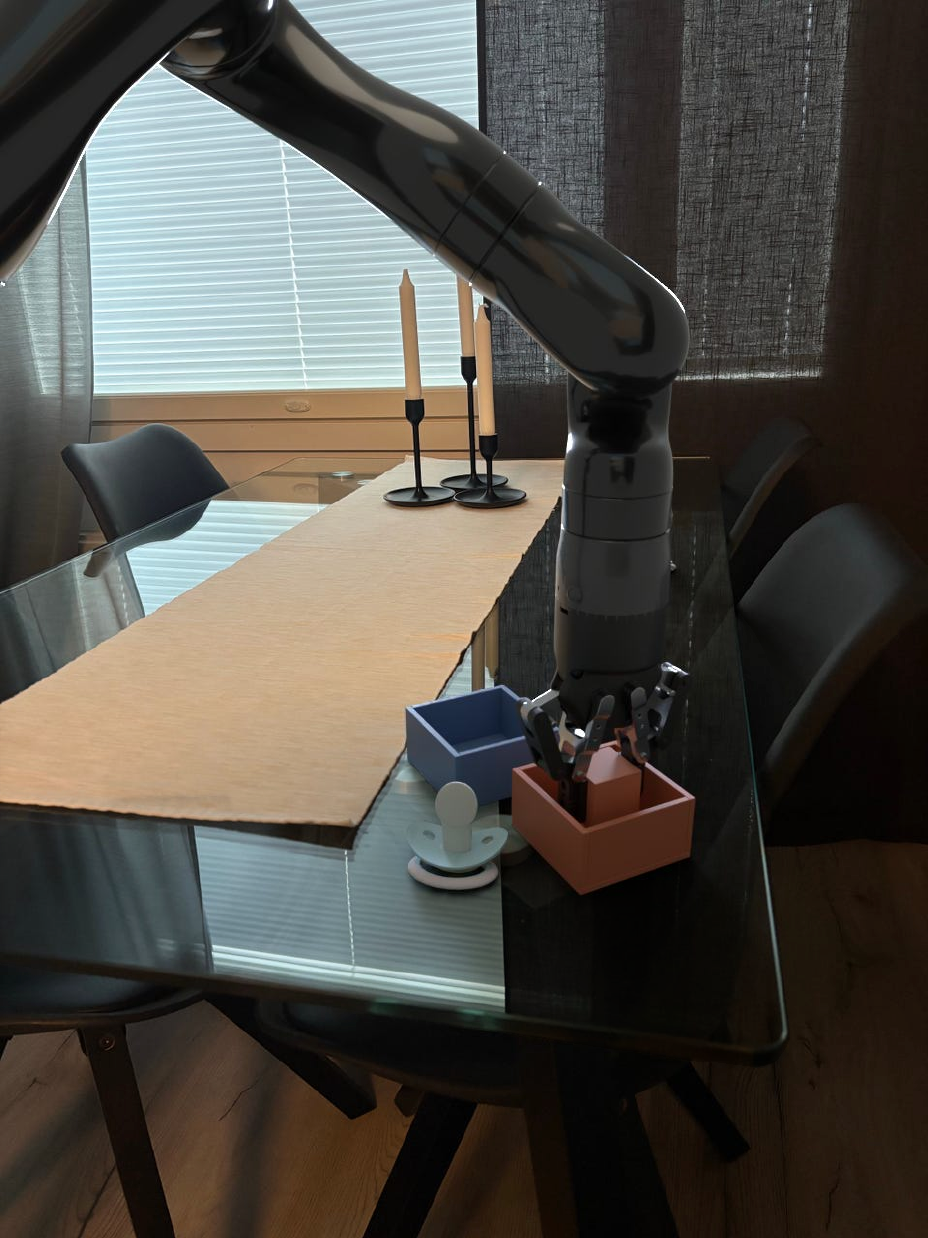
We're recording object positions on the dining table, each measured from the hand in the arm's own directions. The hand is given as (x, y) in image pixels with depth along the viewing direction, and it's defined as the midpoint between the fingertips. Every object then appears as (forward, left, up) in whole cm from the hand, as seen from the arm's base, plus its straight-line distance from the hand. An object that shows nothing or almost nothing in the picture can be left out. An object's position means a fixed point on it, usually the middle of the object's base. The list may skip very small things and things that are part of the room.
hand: (600, 809), depth 70 cm
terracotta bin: (0, 0, -3) cm, 3 cm away
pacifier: (-11, +2, -3) cm, 12 cm away
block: (0, 0, 0) cm, 0 cm away
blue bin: (-3, +13, -3) cm, 14 cm away
